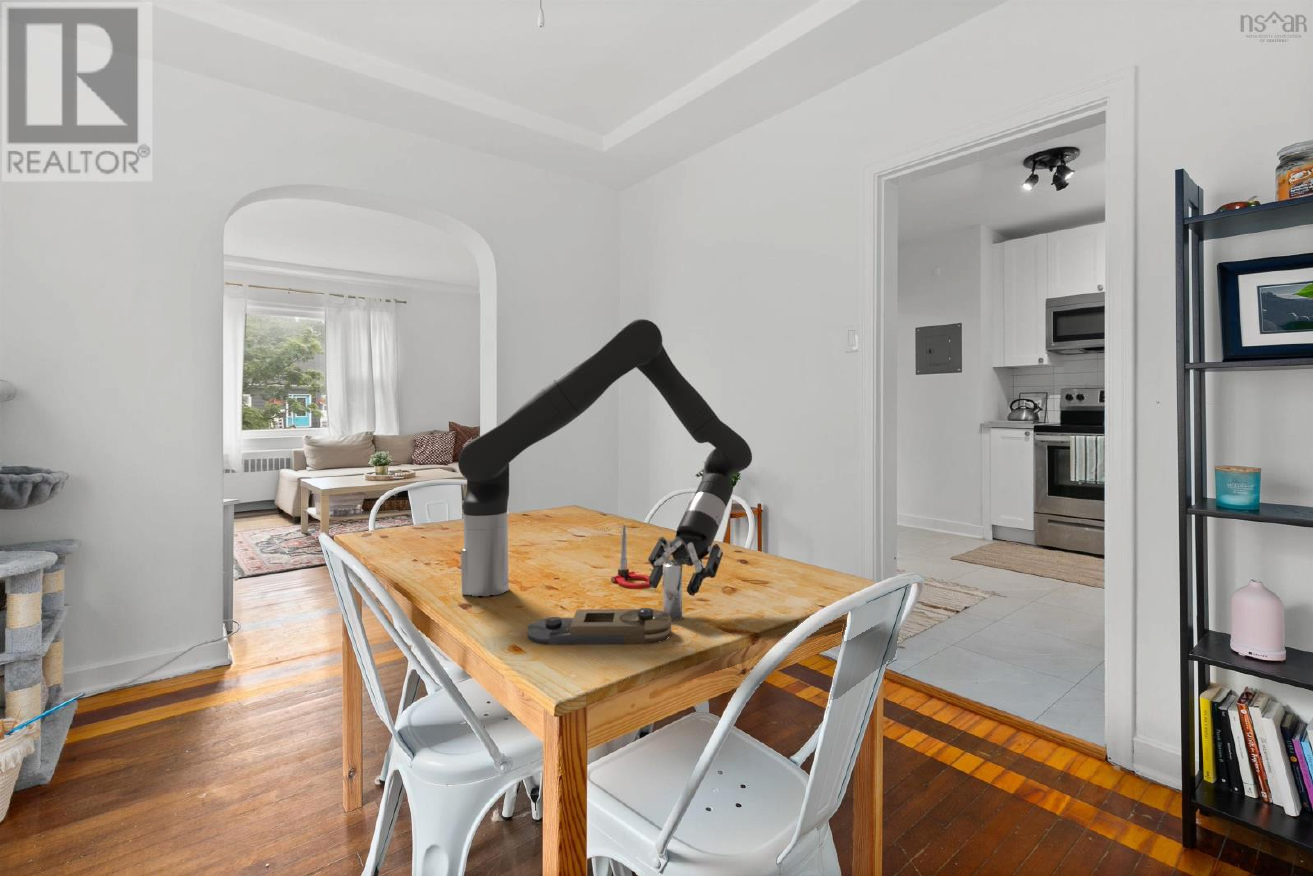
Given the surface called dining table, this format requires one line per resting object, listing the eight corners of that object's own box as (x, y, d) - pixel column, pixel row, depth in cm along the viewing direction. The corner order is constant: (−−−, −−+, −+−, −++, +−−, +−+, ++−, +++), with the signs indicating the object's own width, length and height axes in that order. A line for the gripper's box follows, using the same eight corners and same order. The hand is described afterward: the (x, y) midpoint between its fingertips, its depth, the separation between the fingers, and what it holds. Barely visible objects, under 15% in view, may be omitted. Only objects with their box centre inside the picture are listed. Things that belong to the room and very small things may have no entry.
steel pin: (663, 620, 117) (663, 567, 116) (663, 614, 120) (662, 562, 120) (682, 620, 117) (682, 567, 116) (682, 614, 120) (681, 562, 120)
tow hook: (662, 584, 142) (633, 575, 149) (663, 528, 141) (634, 522, 148) (636, 593, 136) (607, 583, 143) (637, 534, 135) (608, 527, 142)
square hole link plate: (522, 644, 105) (522, 619, 105) (533, 626, 114) (532, 603, 114) (671, 643, 105) (671, 618, 105) (670, 625, 114) (670, 602, 114)
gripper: (665, 505, 128) (631, 573, 120) (726, 511, 120) (695, 584, 111) (679, 527, 133) (648, 594, 124) (739, 534, 125) (710, 606, 116)
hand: (670, 589), depth 118 cm, fingers open, 8 cm apart
